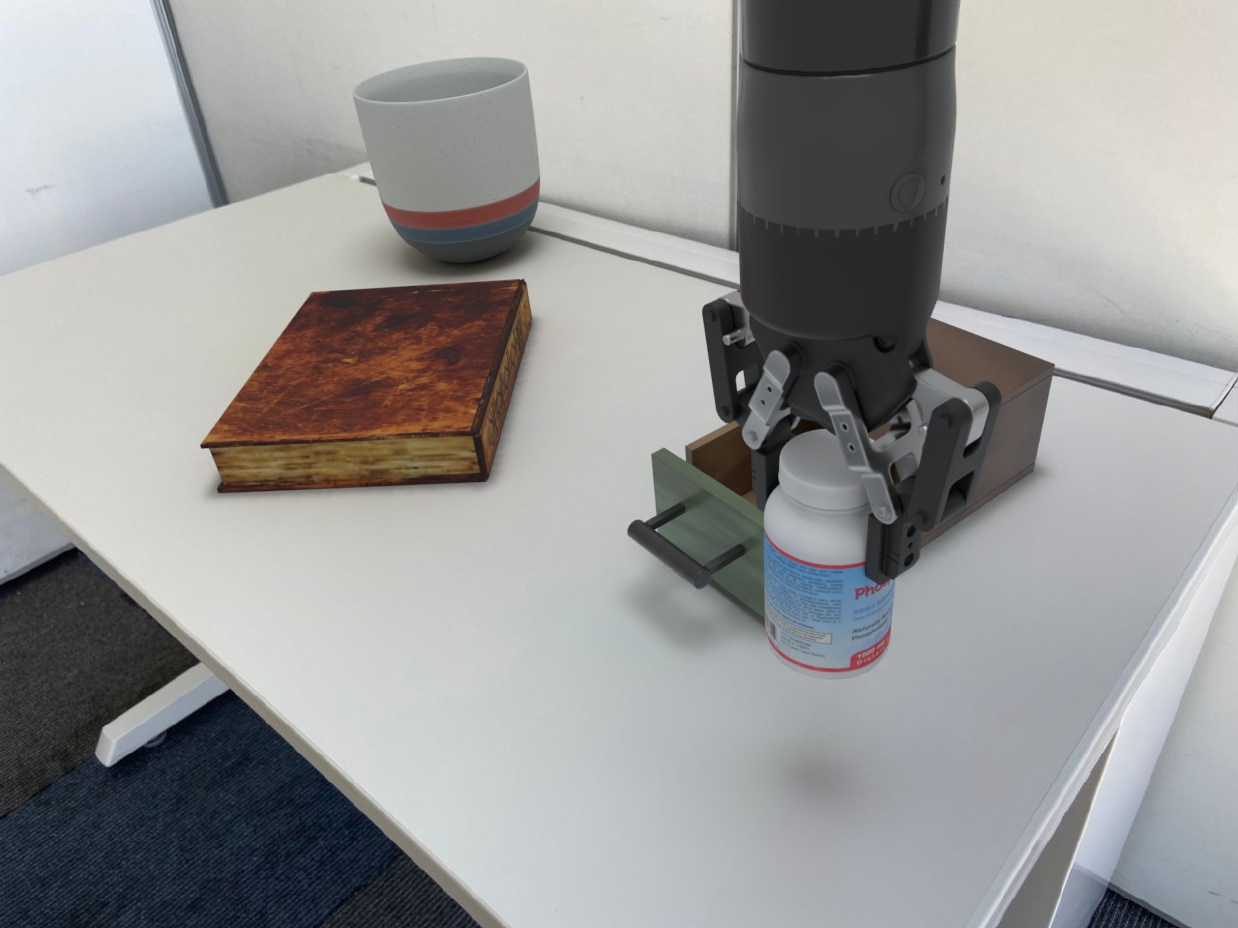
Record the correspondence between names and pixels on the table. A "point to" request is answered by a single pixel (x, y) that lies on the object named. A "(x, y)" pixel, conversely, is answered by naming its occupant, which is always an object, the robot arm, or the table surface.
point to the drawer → (711, 514)
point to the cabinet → (1018, 416)
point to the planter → (453, 153)
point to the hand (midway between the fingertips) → (829, 536)
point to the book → (378, 390)
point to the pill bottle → (822, 565)
